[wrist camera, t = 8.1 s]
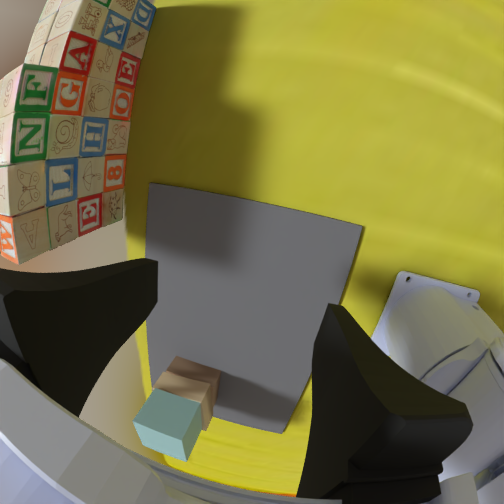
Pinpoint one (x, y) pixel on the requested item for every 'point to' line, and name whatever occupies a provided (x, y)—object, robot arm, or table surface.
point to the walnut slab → (196, 373)
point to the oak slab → (189, 393)
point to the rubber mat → (243, 295)
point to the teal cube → (169, 424)
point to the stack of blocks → (69, 124)
